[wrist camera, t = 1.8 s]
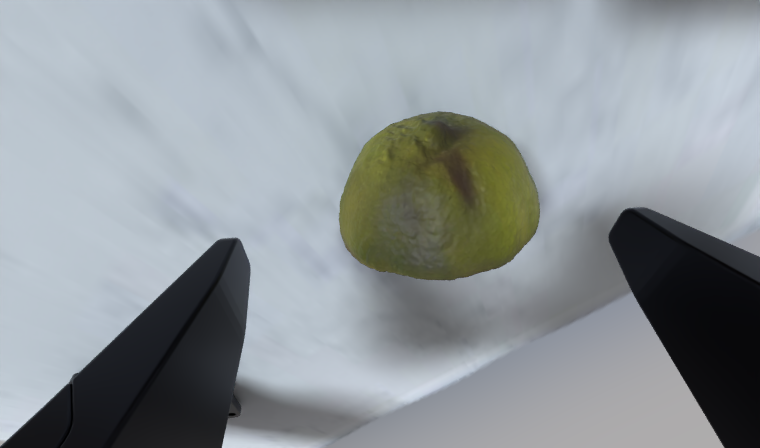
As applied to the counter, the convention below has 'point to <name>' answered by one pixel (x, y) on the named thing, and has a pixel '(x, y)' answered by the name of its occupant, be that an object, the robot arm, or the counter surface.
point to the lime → (438, 199)
